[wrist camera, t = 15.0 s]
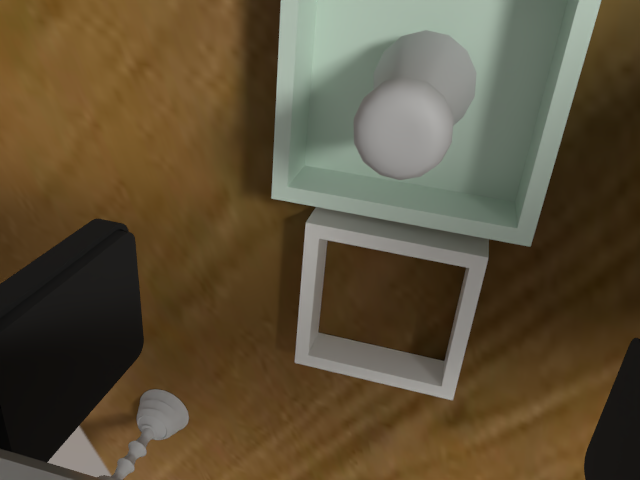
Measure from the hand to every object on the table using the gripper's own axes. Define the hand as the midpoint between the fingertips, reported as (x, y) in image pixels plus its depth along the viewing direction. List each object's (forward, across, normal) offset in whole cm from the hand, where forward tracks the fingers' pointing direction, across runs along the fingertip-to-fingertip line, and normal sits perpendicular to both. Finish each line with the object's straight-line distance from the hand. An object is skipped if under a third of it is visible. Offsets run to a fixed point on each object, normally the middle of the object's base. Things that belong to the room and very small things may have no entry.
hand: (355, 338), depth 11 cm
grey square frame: (+28, +2, +17) cm, 33 cm away
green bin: (+28, +2, +1) cm, 28 cm away
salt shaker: (+28, +2, +1) cm, 28 cm away
